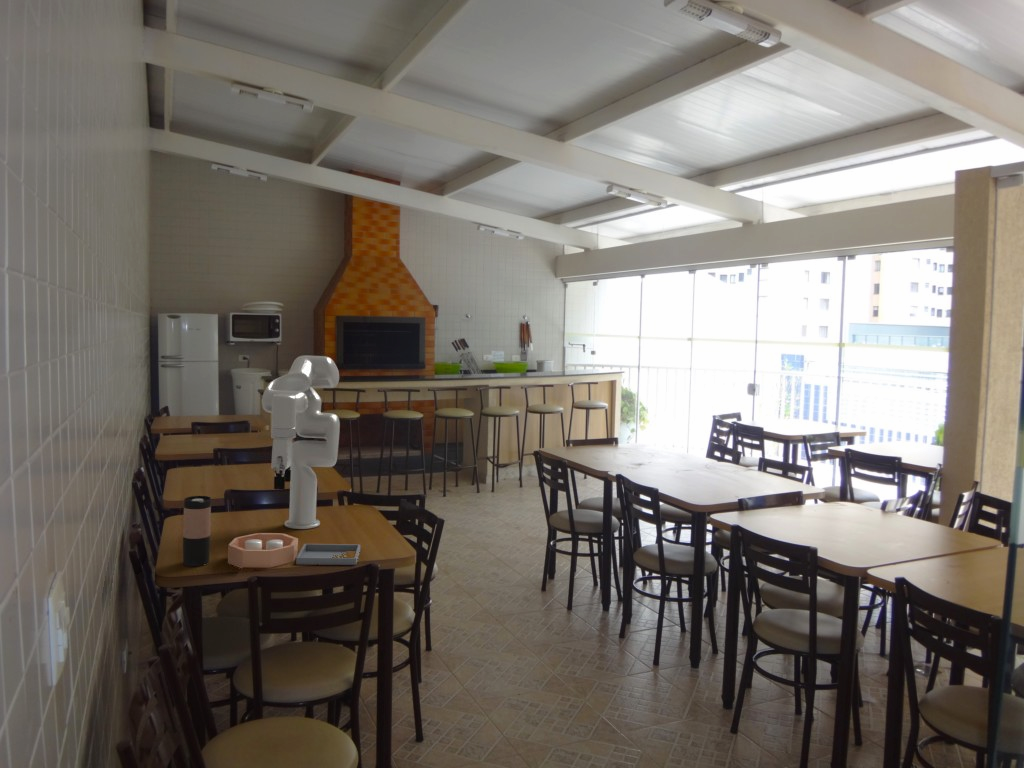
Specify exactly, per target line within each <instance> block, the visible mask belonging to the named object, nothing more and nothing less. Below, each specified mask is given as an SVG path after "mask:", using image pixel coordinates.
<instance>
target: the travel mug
mask: <svg viewBox="0 0 1024 768" xmlns="http://www.w3.org/2000/svg"><path fill="white" fill-rule="evenodd" d="M211 504H212V499H211V497H210V496H207V495H192V496H187V497H185V498H184V499H183V525H182V549H183V550H182V553H183V554H182V557H183V559H182V561H183V562H182V564H183V565H184V566H185V565H186V566H185V567H188V566H199V567H202V566H201V565H204V564H206V565H208V564H209V563H208V562H210V552H211V551H210V549H211V547H210V546H211V528H212V527H211V526H212V525H211V515H212V513H211V512H212V511H211V510H212V505H211ZM207 563H208V564H207ZM204 566H205V565H204Z"/></svg>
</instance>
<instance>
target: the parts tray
mask: <svg viewBox="0 0 1024 768" xmlns="http://www.w3.org/2000/svg"><path fill="white" fill-rule="evenodd" d="M346 551H356V554H355V557H354V558H343V557H342V558H340V557H339V556H342V555H341V554H343V553H344V554H346ZM341 552H342V553H341ZM359 552H361V544H355V543H354V544H351V543H349V544H348V543H347V544H346V543H344V544H343V543H340V544H339V543H338V544H337V543H304V544H303V546H302V547H301V549H300V551H298V554H297V556H296V558H295V561H296V562H295V564H296V565H304V566H305V565H313V566H314V565H316V566H317V564H318V565H320V566H322V565H323V566H328V565H330V566H333V565H334V566H335V565H336V566H356V565H357V563H358V560H359V557H360V553H359ZM344 554H343V555H344ZM333 555H334V556H333ZM335 555H336V556H337V555H338V556H337V557H338V558H336V557H335ZM358 556H359V557H358ZM332 557H335V558H332ZM344 557H347V556H346V555H344ZM357 559H358V560H357Z"/></svg>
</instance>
